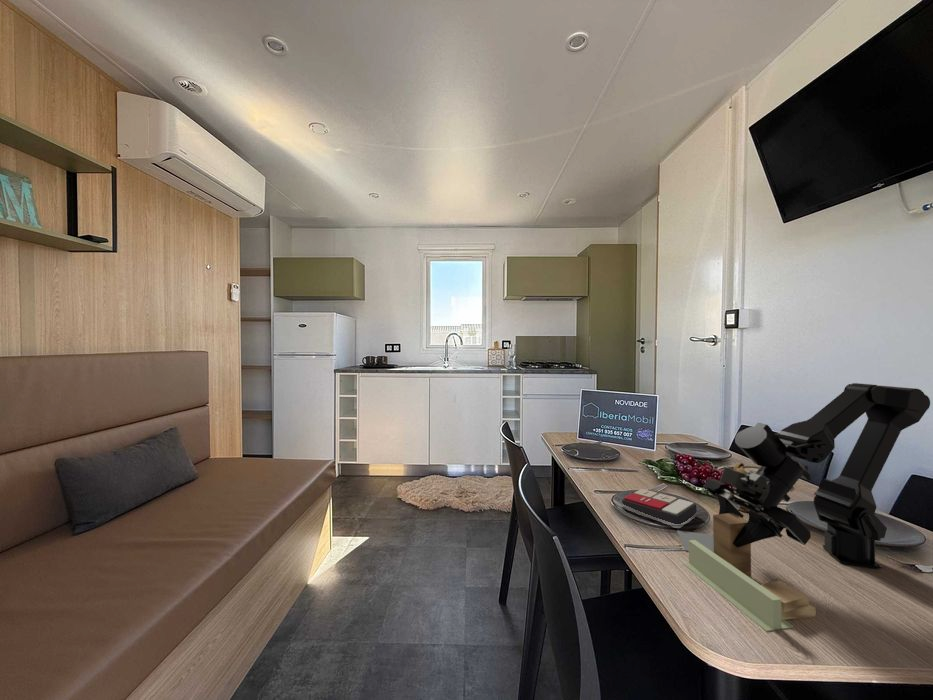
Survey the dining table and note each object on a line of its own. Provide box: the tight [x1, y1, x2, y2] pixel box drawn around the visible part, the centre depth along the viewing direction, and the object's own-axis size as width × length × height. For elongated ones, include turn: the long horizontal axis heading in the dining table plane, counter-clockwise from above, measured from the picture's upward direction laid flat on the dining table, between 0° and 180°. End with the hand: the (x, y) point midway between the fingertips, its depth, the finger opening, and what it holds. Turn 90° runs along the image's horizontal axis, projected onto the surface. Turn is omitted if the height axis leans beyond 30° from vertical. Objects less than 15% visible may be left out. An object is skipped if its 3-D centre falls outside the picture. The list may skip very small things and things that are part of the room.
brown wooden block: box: [712, 513, 752, 578], centre depth 72 cm, size 4×4×11 cm
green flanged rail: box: [683, 540, 794, 632], centre depth 67 cm, size 5×18×5 cm, turn 8°
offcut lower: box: [781, 603, 817, 621], centre depth 63 cm, size 7×5×2 cm
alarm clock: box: [726, 462, 761, 475], centre depth 119 cm, size 11×5×15 cm
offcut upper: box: [760, 580, 810, 612], centre depth 62 cm, size 6×4×2 cm
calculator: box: [621, 488, 698, 524], centre depth 99 cm, size 11×4×15 cm
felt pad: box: [676, 529, 714, 553], centre depth 83 cm, size 10×9×1 cm
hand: (725, 539), depth 72 cm, fingers closed on brown wooden block, 4 cm apart
